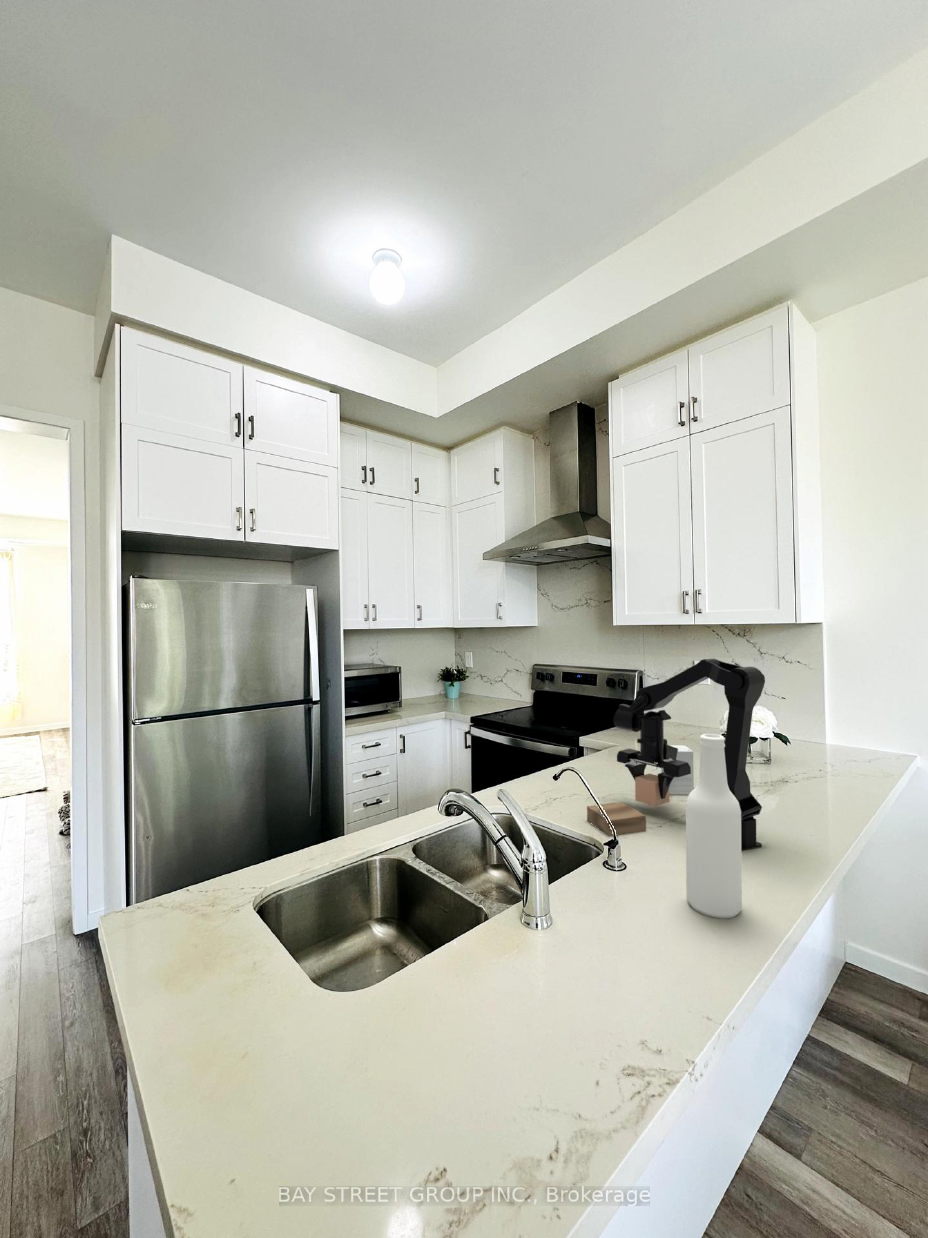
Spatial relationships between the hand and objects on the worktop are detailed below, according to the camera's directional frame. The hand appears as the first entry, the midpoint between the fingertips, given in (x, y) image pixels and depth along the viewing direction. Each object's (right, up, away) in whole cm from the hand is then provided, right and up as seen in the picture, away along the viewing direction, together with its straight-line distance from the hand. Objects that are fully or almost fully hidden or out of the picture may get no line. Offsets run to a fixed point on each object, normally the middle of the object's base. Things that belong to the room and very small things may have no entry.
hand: (652, 795), depth 138 cm
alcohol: (-5, -5, -45) cm, 45 cm away
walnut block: (-12, -5, -8) cm, 15 cm away
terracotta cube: (0, -2, 0) cm, 2 cm away
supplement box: (+13, -5, +17) cm, 22 cm away
